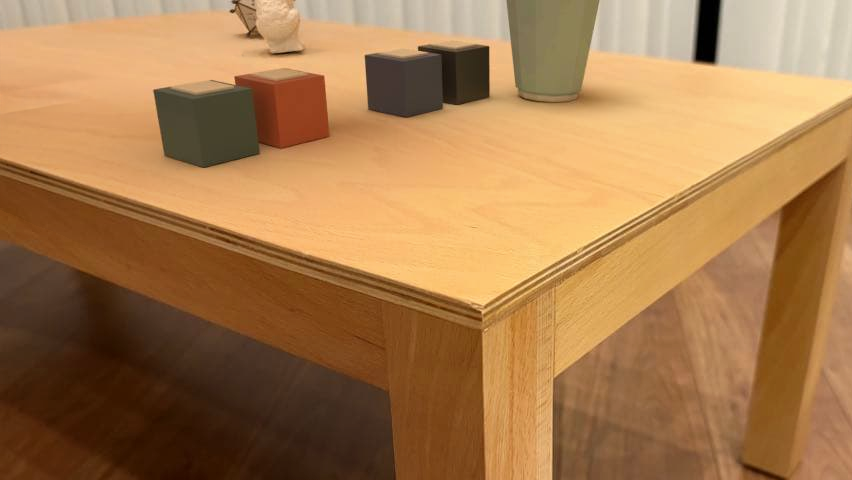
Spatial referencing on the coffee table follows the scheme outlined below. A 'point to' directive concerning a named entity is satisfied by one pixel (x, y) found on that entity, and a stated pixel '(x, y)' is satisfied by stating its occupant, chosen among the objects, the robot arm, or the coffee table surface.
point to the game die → (246, 14)
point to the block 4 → (462, 70)
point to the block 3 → (404, 82)
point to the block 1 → (207, 122)
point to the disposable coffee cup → (550, 46)
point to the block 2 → (287, 106)
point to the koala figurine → (279, 25)
